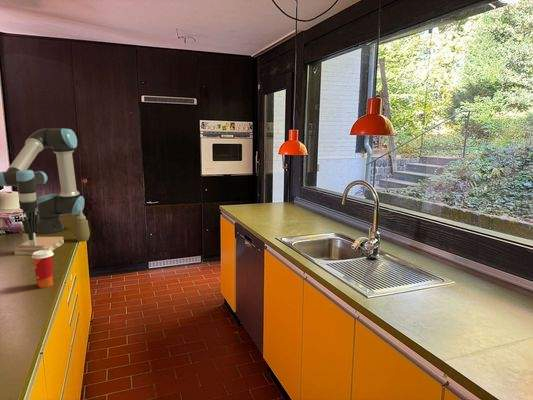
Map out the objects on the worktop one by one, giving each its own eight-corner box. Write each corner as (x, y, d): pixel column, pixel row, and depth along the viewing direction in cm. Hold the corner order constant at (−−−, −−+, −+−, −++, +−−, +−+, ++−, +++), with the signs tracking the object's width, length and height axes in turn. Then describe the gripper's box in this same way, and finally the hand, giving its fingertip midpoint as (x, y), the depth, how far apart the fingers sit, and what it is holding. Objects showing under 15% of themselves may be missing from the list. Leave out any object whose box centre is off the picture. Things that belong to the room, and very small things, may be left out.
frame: (36, 243, 210) (35, 239, 209) (63, 243, 211) (63, 239, 210) (14, 254, 190) (14, 250, 190) (45, 254, 191) (44, 249, 191)
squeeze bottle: (84, 243, 212) (82, 212, 209) (71, 242, 214) (69, 211, 211) (93, 239, 220) (91, 209, 217) (81, 238, 222) (79, 208, 219)
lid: (35, 238, 209) (35, 236, 209) (63, 238, 210) (63, 236, 210) (14, 250, 189) (13, 247, 189) (44, 249, 190) (44, 247, 190)
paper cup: (40, 281, 156) (37, 249, 153) (59, 281, 156) (56, 249, 154) (30, 289, 148) (27, 255, 146) (50, 288, 149) (47, 255, 146)
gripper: (27, 198, 194) (32, 241, 199) (12, 203, 182) (18, 249, 186) (42, 198, 195) (46, 241, 199) (28, 203, 182) (33, 249, 187)
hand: (33, 245), depth 193 cm, fingers closed
